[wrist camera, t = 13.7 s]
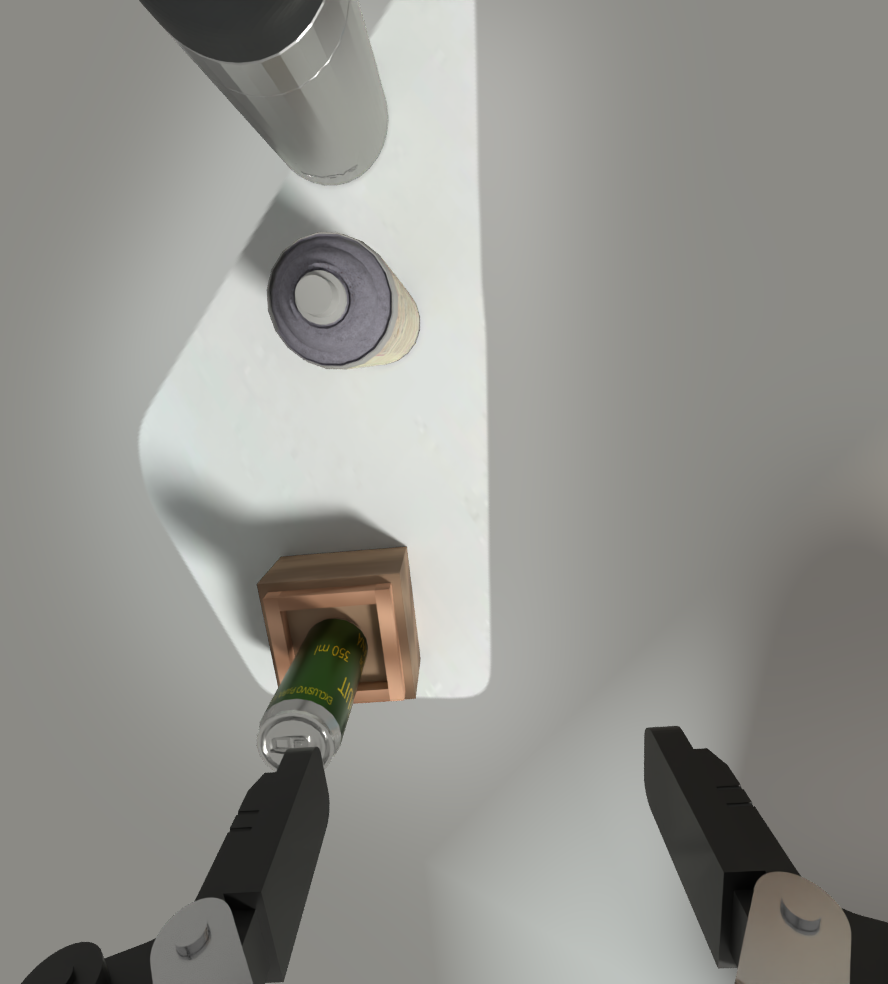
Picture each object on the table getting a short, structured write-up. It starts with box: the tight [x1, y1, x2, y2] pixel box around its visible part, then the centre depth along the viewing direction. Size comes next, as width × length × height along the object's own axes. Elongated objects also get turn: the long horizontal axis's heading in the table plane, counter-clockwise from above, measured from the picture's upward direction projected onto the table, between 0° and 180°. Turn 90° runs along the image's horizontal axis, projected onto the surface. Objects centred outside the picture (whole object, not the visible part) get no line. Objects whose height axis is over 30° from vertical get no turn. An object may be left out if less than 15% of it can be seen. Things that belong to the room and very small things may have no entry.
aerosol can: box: [267, 232, 420, 369], centre depth 33 cm, size 7×7×20 cm
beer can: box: [257, 617, 368, 772], centre depth 38 cm, size 5×5×12 cm
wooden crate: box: [257, 547, 420, 703], centre depth 46 cm, size 12×12×7 cm
